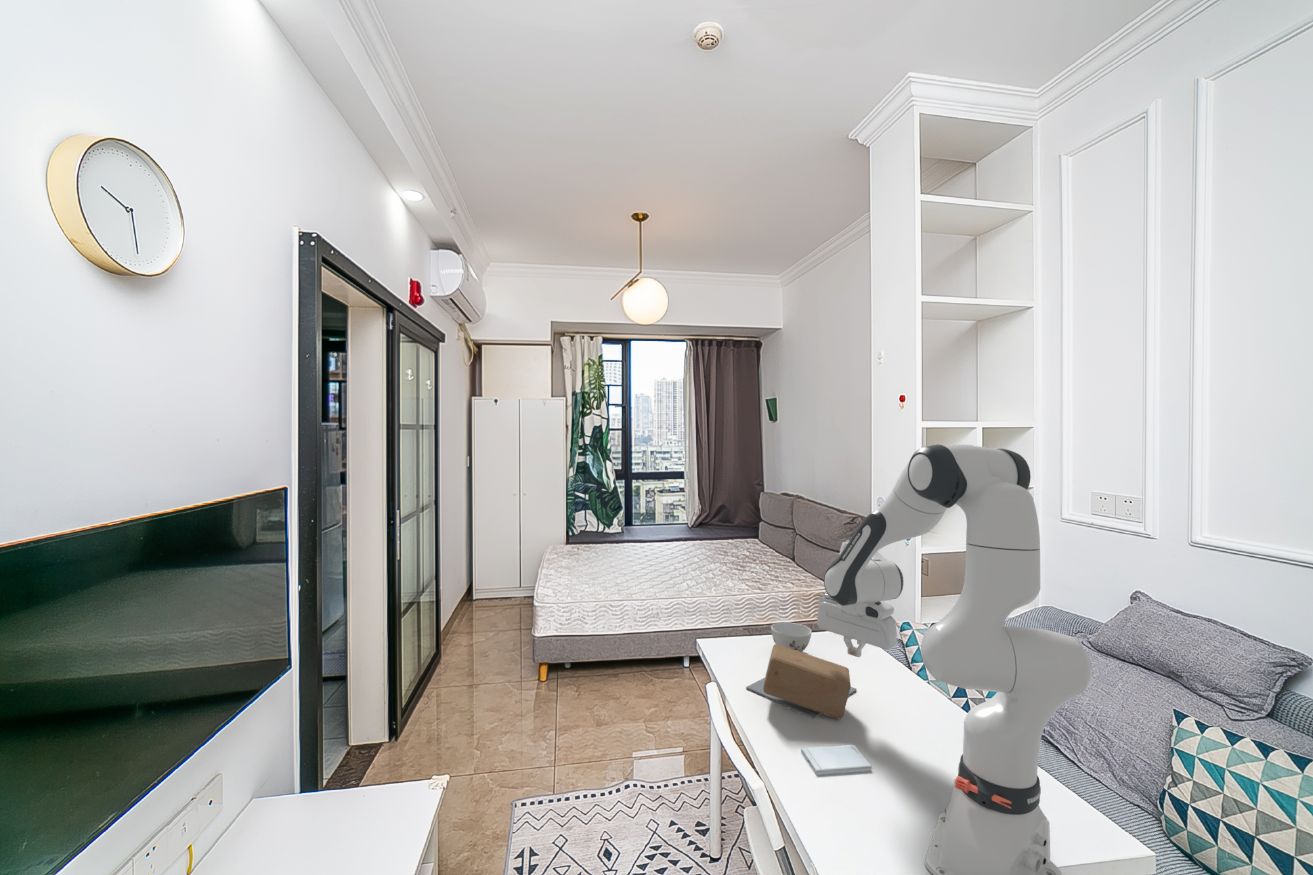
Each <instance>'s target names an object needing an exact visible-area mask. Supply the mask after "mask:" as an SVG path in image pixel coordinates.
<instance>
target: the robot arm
mask: <svg viewBox="0 0 1313 875" xmlns="http://www.w3.org/2000/svg"><path fill="white" fill-rule="evenodd" d="M1030 484H1031V469H1030V467H1029V464H1028V461H1026V459H1025V457H1023V456H1022V455H1021V454H1020V453H1017V452H1016V451H1013V450H1011V449H1006V448H1002V447H996V448H994V447H993V448H992V447H986V446H979V445H978V446H977V445H973V444H946V445H944V444H943V445H942V444H931V445H926V446H922V447H921V448H918V449H916V451H915V452H913V454H912V455H911V458H910V460H909V461H908V463H906V465H905V467H904V468H903V470H902V472H901V473H900V475H899V477H898V478H897V480H896V482H895V484H894V487H893V488H892V489H891V491H890V493H889V494H888V496H887V497H886V498H885V499H884V500H883V502H882V503H881V504H880V505H879V506H878V507H877V508H875V510H873V511H872V512H871V513H869V514H868V515H867V516H866V517H865V518H864V519H863V521H861V523H860V524H859V526H858V527H857V529H856V530H855V532H854V533H853V535H852V536H851V538H850V539H846V540H845V541H843V542H842V543H841V546H840V549H839V555H838V557H836V559H835V560H833V561H832V562H831V563H830V565H829V566H828V567H827V569H826V571H825V573H824V576H823V586H824V589H825V592H826V593H824V594H821V595H820V596H819V597H818V611H817V618H816V625H817V626H818V628H819V629H821V630H824V631H827V632H829V633H833V634H836V635H838V636H839V635H840V636H842V637H843V642H844V644H845V646H846V648H847V651H846V652H847V654H848V655H850V656H853V657H856V658H860V657H861V656H862V650H863V648H864V647H865V646H866V645H867V644H868V645H871V646H874V647H876V648H880V649H883V650H885V651H889V650H891V649H893V648H895V647H896V645H897V643H898V642H897V640H898V635H897V625H896V624H897V623H896V621H895V619H894V617H893V616H892V615H893V614H894V613H895V608H894V607H893V605H891V604H890V603H888V602H886V601H893V600H896V599H898V598H899V597H900V595H902V592H903V589H904V575H903V572H902V570H901V569H900V567H899V566H898V564H896V563H895V562H893V561H891V560H888V559H887V558H885V556H884V555H882V554H881V553H880V552H879V550H880V549H883V548H884V547H886V546H888V545H890V544H893V543H896V542H900V541H904V540H908V539H912V538H913V539H914V538H916V537H919V536H924V535H925V534H928V533H929V532H931V531H932V530H933V529H934V528H935V527H936V526H937V525H938V523H939V522H940V521H941V520H942V518H943V516H944V514H945V512H946V511H947V509H949V508H951V507H953V506H954V505H956V506H958V507H959V508H960V509H961V510H962V511H963V512H964V515H965V518H966V534H965V537H966V540H965V570H964V581H963V587H962V590H961V592H960V595H959V597H958V599H957V601H956V603H955V604H954V605H953V607H952V609H951V610H950V611H949V612H948V613H947V614H946V615H945V616H943V617H942V618H941V619H940V620H939V621H937V622H936V623H933V624H932V625H930V627H928V629H927V630H926V632H924V634H923V637H922V640H921V645H920V654H921V659H922V661H923V664H924V666H925V669H926V670H927V671H928V673H929V674H930V675H931V676H932V678H933V679H934V680H936V681H937V682H940V683H944V684H946V685H950V686H954V687H957V688H960V689H963V690H964V689H965V690H972V691H973V690H974V691H985V692H995V694H994V695H993V696H992V697H990V699H988V700H986V701H984V702H982V703H979V704H977V705H975V706H973V707H972V708H970V710H969V711H968V712H967V714H966V716H965V717H964V720H963V738H962V739H963V740H962V741H963V742H962V743H963V744H962V746H963V747H962V754H961V755H960V760H959V763H958V768H957V776H956V778H954V779H953V788H952V793H951V795H950V800H949V804H948V806H945V809H944V812H941V813H940V814H939V816H938V819H937V822H936V825H935V829H934V832H933V835H932V839H931V842H930V844H929V847H928V850H927V854H926V858H925V864H924V865H925V868H926V869H927V870H928V871H929V872H930V874H931V875H1063V874H1062V871H1061V870H1060V868H1059V867H1058V866H1057V865H1056V864H1055V863H1054V862H1053V861H1052V860H1051V830H1050V829H1051V826H1050V821H1049V820H1048V818H1047V816H1046V814H1045V813H1044V812H1043V811H1042V809H1041V807H1040V802H1041V801H1040V800H1041V799H1040V798H1041V793H1042V792H1041V791H1042V790H1041V781H1040V778H1039V775H1038V768H1039V767H1038V766H1039V765H1038V764H1039V754H1040V746H1041V739H1042V735H1043V733H1044V730H1045V728H1046V726H1047V725H1048V722H1049V721H1050V719H1051V718H1052V717H1053V715H1054V714H1055V713H1056V712H1057V711H1058V710H1059V709H1060V708H1061V707H1062V706H1063V705H1064V704H1066V702H1069V701H1070V700H1072V699H1073V698H1075V697H1078V696H1080V695H1081V694H1083V693H1084V692H1085V691H1086V690H1087V688H1088V686H1089V684H1090V682H1091V680H1092V675H1093V670H1092V663H1091V661H1090V658H1089V655H1088V653H1087V651H1086V650H1085V648H1084V647H1083V646H1082V644H1081V643H1080V642H1079V641H1078V640H1077V639H1075V637H1073V636H1072V635H1071V636H1070V635H1067V634H1063V633H1061V632H1057V631H1053V630H1048V629H1044V628H1039V627H1028V626H1027V627H1026V626H1025V627H1024V626H1013V625H1012V626H1011V625H1004V624H1005V621H1006V620H1007V618H1008V617H1009V615H1010V614H1011V613H1013V612H1014V611H1015V610H1017V609H1018V608H1022V607H1024V606H1026V605H1029V604H1031V603H1032V602H1033V601H1035V600H1036V598H1037V597H1038V595H1039V593H1040V591H1041V536H1040V525H1039V519H1038V513H1037V509H1036V505H1035V501H1034V497H1033V496H1032V493H1030V491H1028V490H1029V487H1030ZM852 640H855V641H856V644H857V647H856V646H854V645H853V642H852Z"/></svg>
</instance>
